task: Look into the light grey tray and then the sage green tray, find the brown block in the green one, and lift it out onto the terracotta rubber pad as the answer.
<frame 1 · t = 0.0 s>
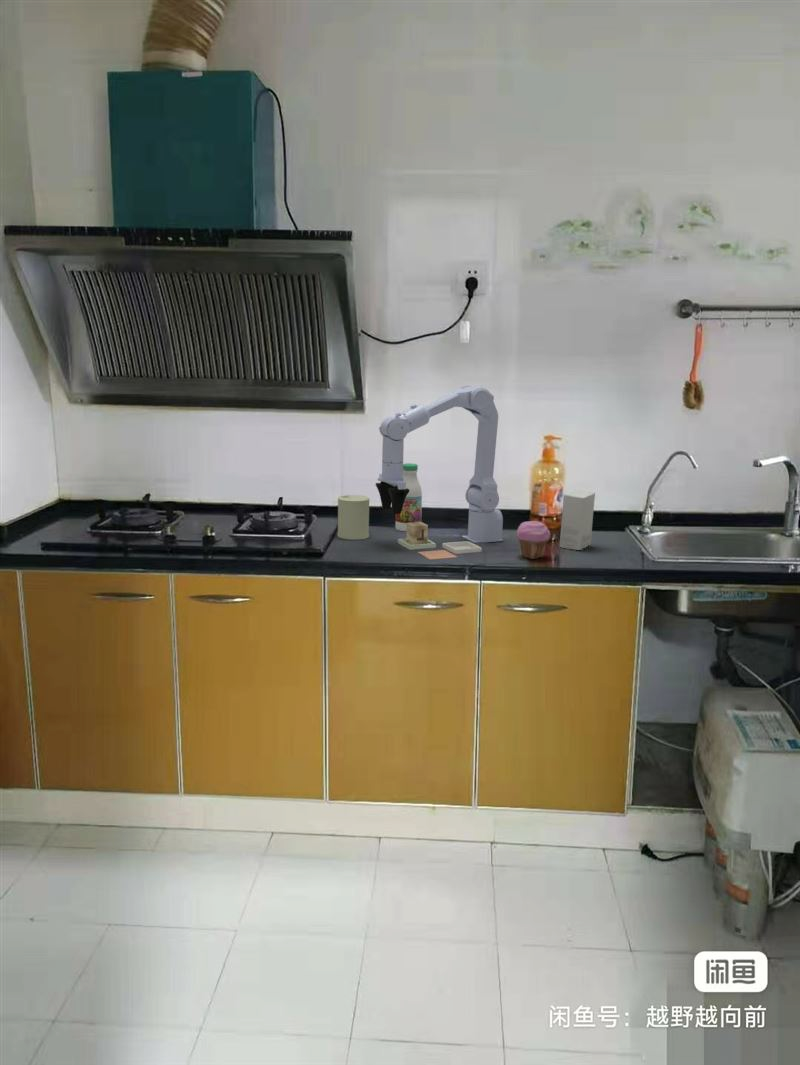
hand: (391, 511, 238), 10 cm above the counter, tool pointing down, fingers open, 7 cm apart
skincare box: (575, 548, 245), on the counter
sage green tray: (416, 546, 241), on the counter
cupcake: (531, 557, 232), on the counter
milk bottle: (408, 530, 261), on the counter
terracotta pad: (437, 556, 231), on the counter
brown block: (416, 545, 241), resting on sage green tray
light grey tray: (461, 550, 237), on the counter
can: (353, 537, 250), on the counter
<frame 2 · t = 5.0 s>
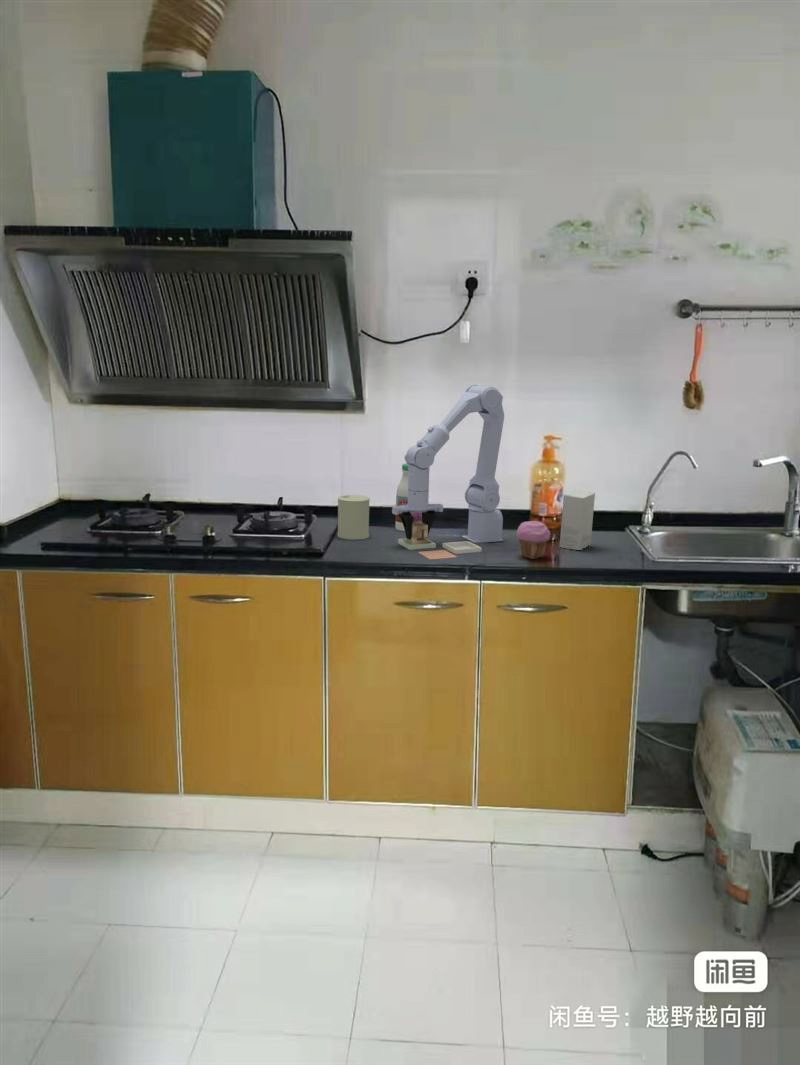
hand: (416, 538, 240), 2 cm above the counter, tool pointing down, fingers closed on brown block, 4 cm apart
brown block: (416, 545, 241), resting on sage green tray, touching gripper
everything else where it was.
when the fingers open (4 cm above the counter, at t = 8.5 s): brown block drops 1 cm, resting on terracotta pad.
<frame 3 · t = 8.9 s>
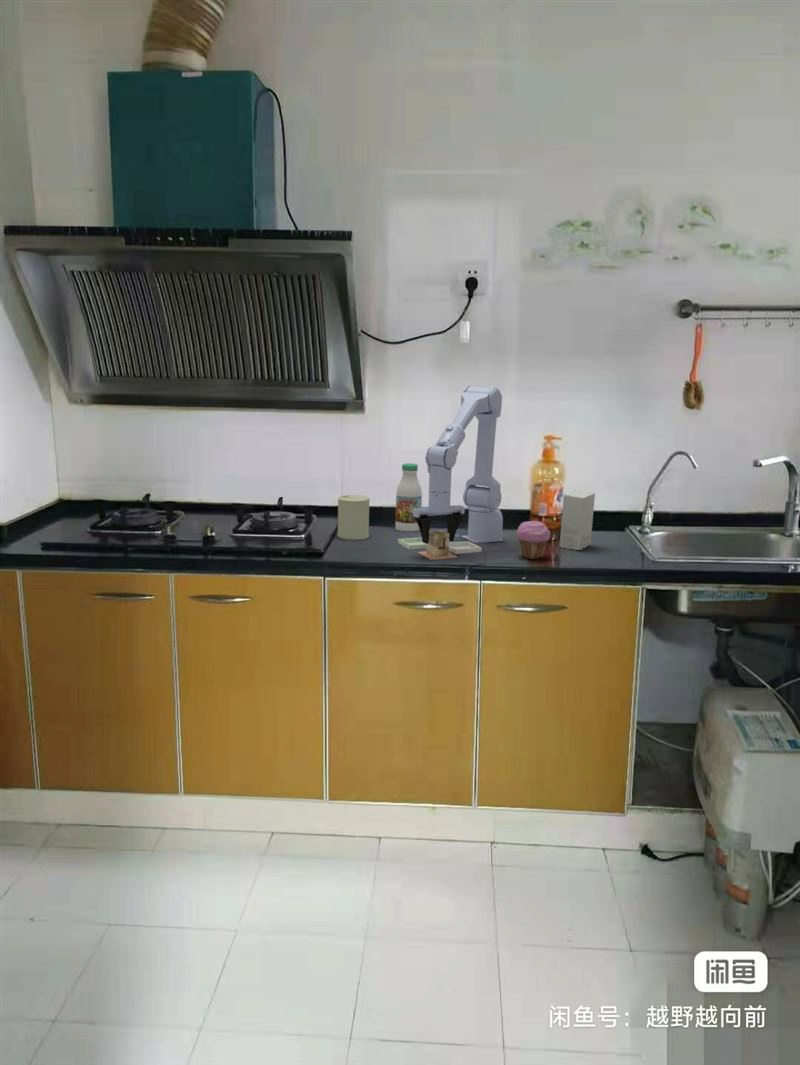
hand: (438, 541, 230), 4 cm above the counter, tool pointing down, fingers open, 7 cm apart
brown block: (437, 554, 231), resting on terracotta pad
everything else where it was.
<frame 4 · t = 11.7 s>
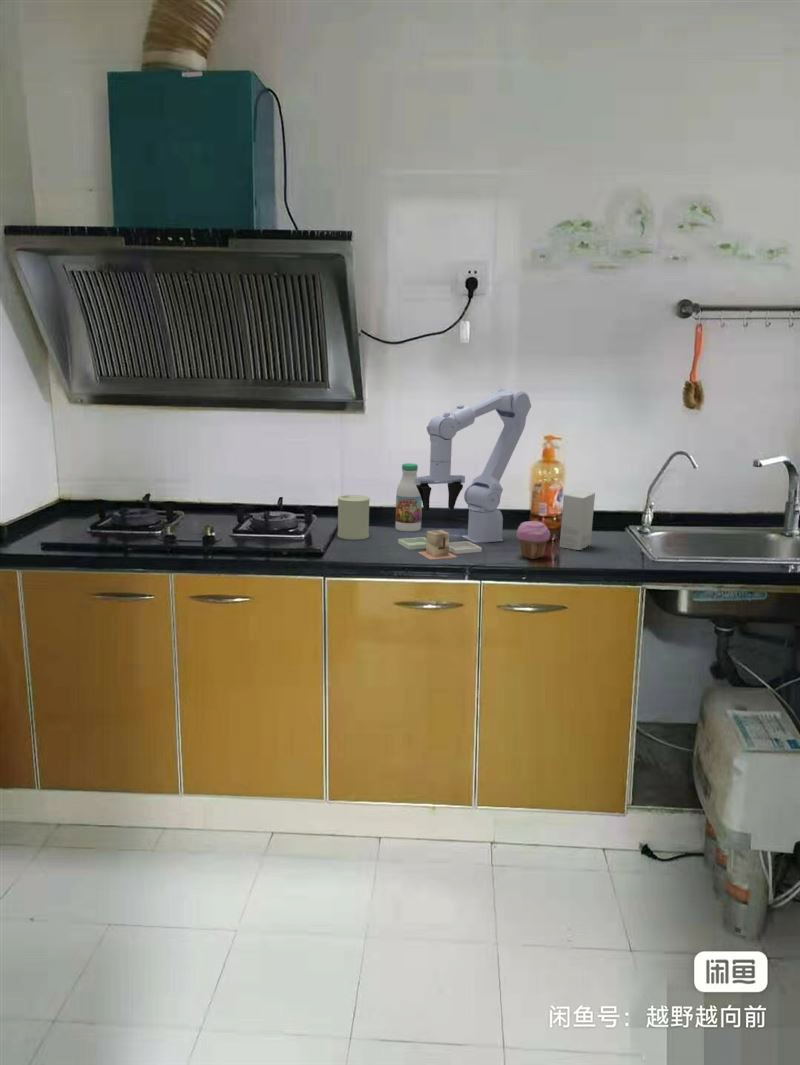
hand: (438, 509, 240), 10 cm above the counter, tool pointing down, fingers open, 7 cm apart
nothing on the counter moved.
at the end: brown block 0.2 cm off-centre on the terracotta pad, point 0.5 cm above the terracotta pad's base; brown block tilted 0°; the gripper is holding nothing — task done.
